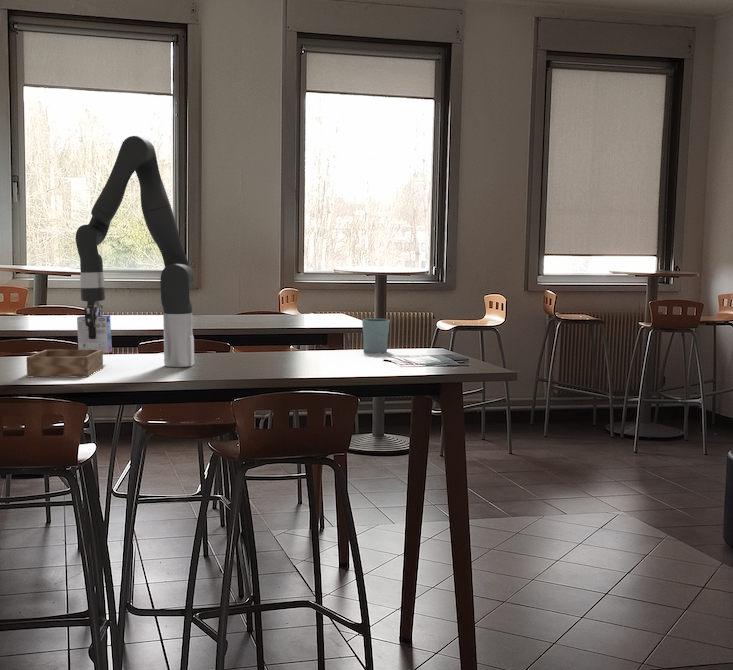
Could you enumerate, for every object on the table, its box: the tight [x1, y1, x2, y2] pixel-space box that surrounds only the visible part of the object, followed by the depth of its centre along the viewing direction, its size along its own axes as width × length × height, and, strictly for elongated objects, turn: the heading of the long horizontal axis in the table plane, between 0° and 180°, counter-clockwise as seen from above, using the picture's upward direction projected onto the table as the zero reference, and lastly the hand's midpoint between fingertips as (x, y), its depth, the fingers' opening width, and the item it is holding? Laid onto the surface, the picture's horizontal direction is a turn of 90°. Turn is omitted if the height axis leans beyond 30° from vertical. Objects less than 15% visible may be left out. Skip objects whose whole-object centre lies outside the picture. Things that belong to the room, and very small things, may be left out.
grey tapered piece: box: [361, 317, 391, 354], centre depth 335 cm, size 10×10×12 cm
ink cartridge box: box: [76, 311, 113, 354], centre depth 299 cm, size 10×6×14 cm, turn 93°
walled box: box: [26, 349, 104, 377], centre depth 282 cm, size 18×18×6 cm
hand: (94, 337), depth 299 cm, fingers closed on ink cartridge box, 5 cm apart
